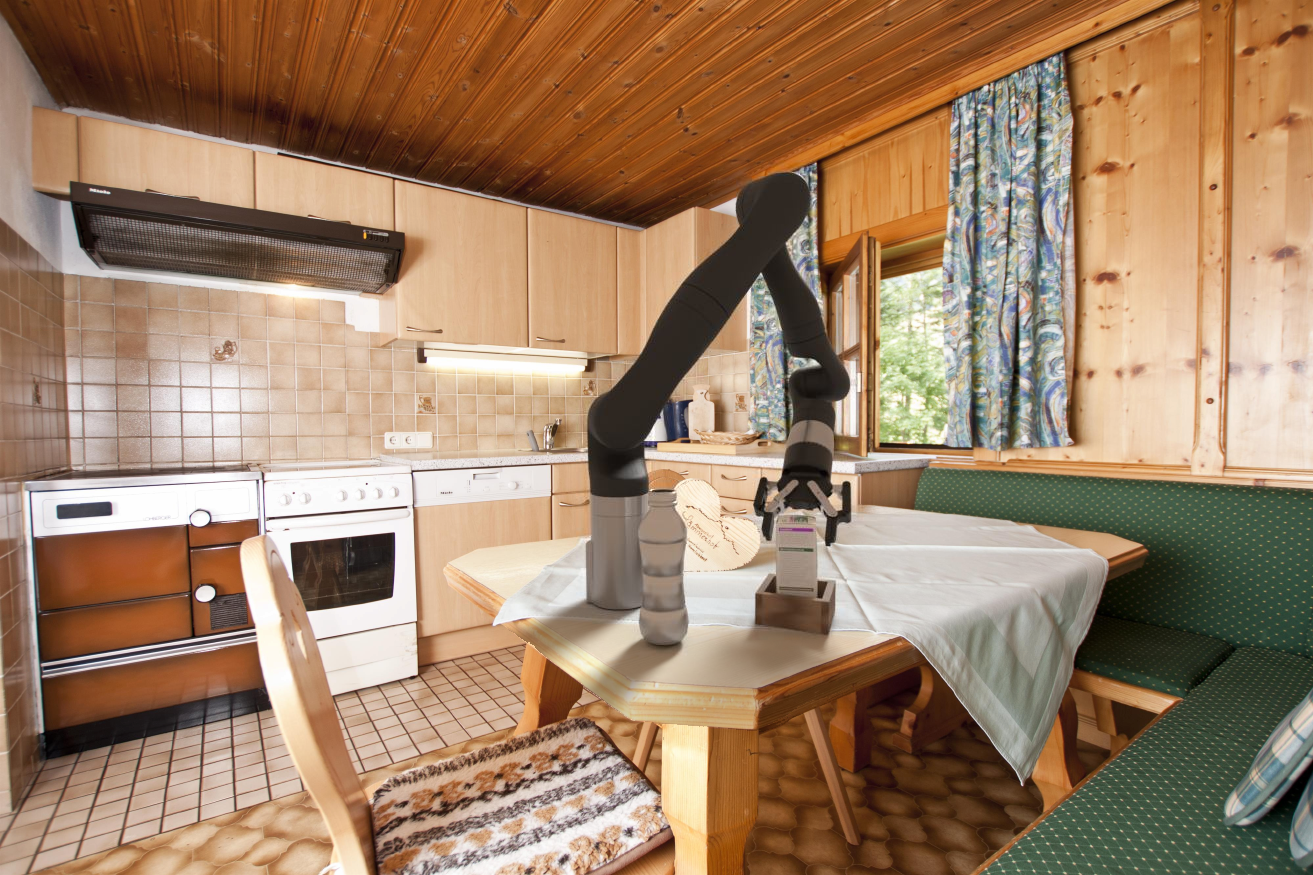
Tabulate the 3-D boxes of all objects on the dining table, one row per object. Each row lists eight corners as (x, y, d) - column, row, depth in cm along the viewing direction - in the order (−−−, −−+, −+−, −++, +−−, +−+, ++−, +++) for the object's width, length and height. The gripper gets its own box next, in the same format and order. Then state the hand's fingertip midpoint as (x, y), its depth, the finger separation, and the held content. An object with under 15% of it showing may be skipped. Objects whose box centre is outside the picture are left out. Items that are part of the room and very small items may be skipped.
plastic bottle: (699, 640, 77) (698, 490, 75) (663, 656, 72) (662, 496, 71) (664, 626, 81) (663, 485, 80) (628, 641, 76) (626, 491, 75)
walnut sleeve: (755, 624, 82) (755, 593, 82) (768, 601, 91) (769, 573, 91) (828, 634, 78) (829, 602, 78) (835, 609, 87) (835, 580, 87)
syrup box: (817, 625, 81) (819, 523, 80) (774, 622, 83) (775, 521, 82) (816, 611, 87) (817, 515, 86) (776, 607, 88) (776, 513, 87)
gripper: (761, 438, 94) (744, 522, 84) (854, 440, 89) (847, 530, 79) (768, 467, 99) (752, 549, 89) (856, 471, 94) (849, 559, 84)
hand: (797, 540), depth 84 cm, fingers open, 8 cm apart
